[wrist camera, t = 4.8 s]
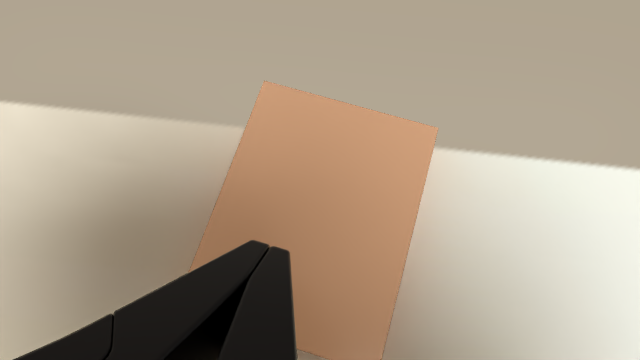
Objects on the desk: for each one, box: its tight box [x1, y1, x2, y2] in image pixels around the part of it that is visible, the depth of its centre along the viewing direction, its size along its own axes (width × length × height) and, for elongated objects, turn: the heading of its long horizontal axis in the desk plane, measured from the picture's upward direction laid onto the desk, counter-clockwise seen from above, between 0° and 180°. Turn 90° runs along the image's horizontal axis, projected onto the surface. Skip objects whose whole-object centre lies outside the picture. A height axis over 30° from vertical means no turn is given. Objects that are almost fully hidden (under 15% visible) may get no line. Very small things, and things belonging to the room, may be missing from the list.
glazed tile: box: [189, 81, 438, 360], centre depth 16 cm, size 2×7×9 cm
